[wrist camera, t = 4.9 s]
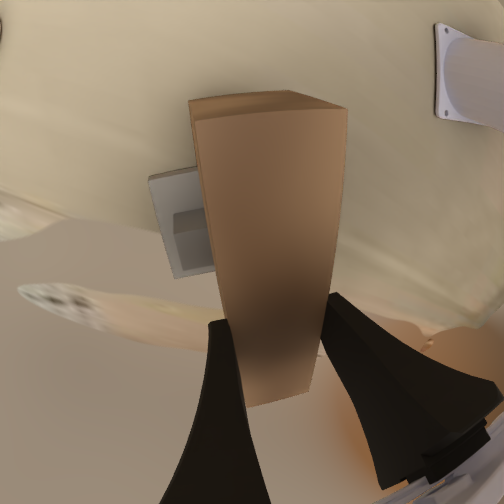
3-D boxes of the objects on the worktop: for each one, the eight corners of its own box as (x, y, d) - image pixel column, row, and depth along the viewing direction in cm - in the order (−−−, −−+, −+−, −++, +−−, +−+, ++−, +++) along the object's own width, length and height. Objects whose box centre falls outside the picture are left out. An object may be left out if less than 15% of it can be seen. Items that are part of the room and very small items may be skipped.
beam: (288, 90, 9) (347, 109, 6) (286, 337, 18) (308, 391, 15) (188, 100, 9) (194, 120, 5) (231, 350, 17) (246, 408, 14)
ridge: (299, 151, 17) (321, 167, 14) (299, 246, 21) (316, 273, 18) (149, 176, 16) (143, 197, 13) (174, 272, 20) (175, 303, 17)
